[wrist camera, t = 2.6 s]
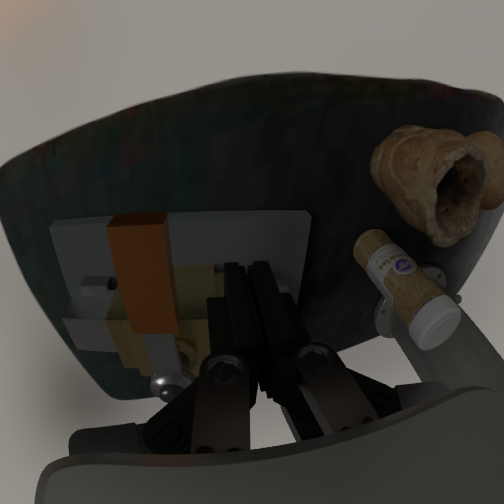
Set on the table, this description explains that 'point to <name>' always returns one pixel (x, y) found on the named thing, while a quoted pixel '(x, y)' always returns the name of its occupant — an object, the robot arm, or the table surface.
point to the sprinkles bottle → (407, 289)
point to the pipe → (440, 178)
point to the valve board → (194, 243)
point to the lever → (150, 294)
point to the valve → (118, 326)
